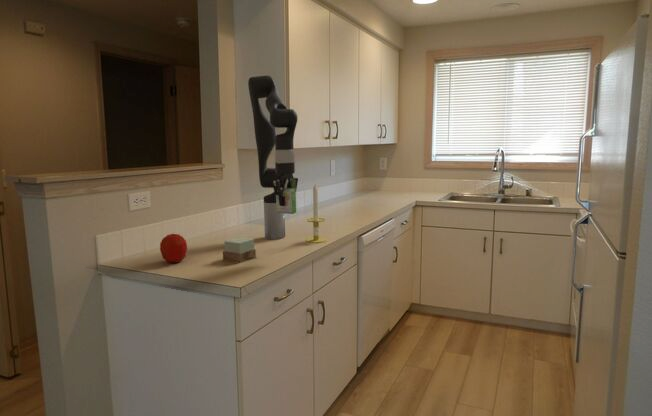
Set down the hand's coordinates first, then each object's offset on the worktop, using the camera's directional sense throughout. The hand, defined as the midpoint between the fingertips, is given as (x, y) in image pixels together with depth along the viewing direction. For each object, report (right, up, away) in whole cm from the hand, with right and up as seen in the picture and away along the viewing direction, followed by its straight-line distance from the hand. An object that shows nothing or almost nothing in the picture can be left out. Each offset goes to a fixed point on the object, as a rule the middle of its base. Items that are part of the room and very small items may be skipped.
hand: (286, 204), depth 182 cm
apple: (-43, -22, -2) cm, 49 cm away
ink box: (0, -4, +1) cm, 4 cm away
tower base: (-18, -22, +1) cm, 29 cm away
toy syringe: (+11, -17, +32) cm, 38 cm away
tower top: (-18, -18, 0) cm, 26 cm away
